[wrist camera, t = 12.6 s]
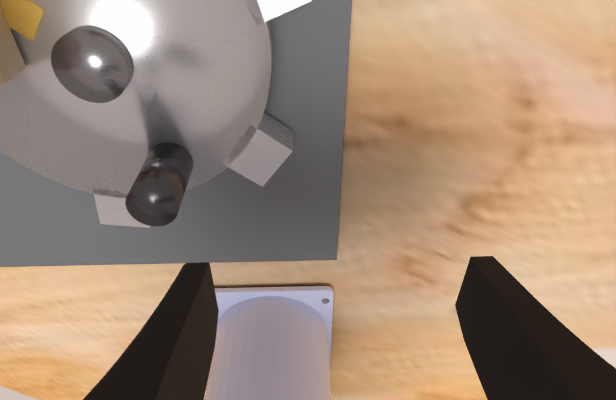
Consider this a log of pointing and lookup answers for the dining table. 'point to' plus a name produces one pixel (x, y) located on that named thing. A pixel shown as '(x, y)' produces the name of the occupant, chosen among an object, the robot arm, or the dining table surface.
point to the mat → (216, 177)
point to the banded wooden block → (8, 52)
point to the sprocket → (142, 98)
